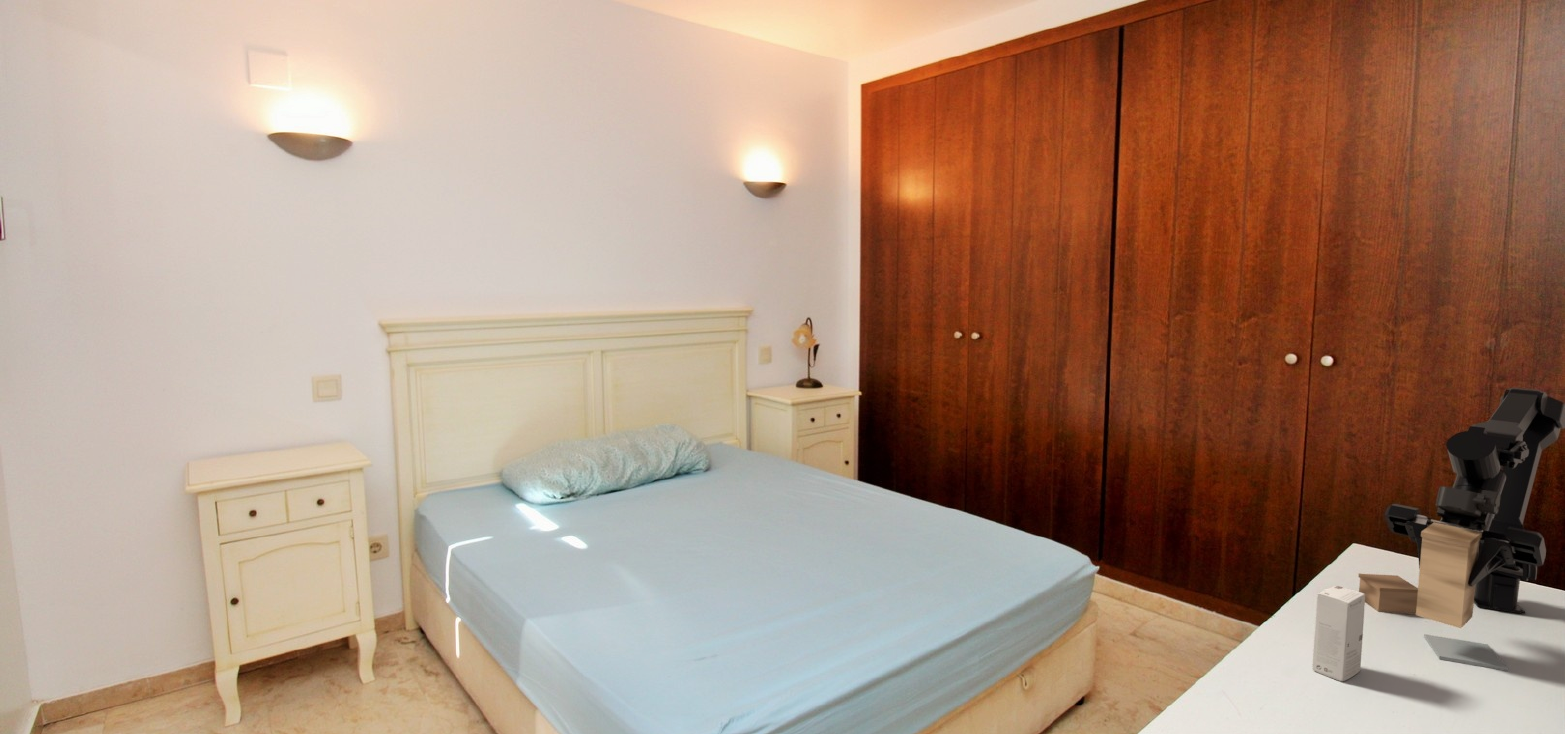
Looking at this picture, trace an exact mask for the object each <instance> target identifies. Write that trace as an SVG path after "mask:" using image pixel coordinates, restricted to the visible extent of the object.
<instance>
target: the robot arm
mask: <svg viewBox="0 0 1565 734" xmlns="http://www.w3.org/2000/svg"><path fill="white" fill-rule="evenodd" d="M1561 429H1565V402H1563V401H1561V400H1559V399H1556V398H1554V397H1551V396H1549V395H1548V394H1547V392H1546V391H1542V390H1541V389H1532V388H1522V387H1521V388H1520V387H1511V388H1506V389H1505V391H1504V394H1503V395H1502V396H1501V398H1500V401H1499V405H1498V407H1497V408H1496V409H1495V411H1494V412H1493V414H1492V415H1491V417H1490V418H1489V419H1488V420H1487V421H1485V422H1480V423H1479V422H1478V423H1475V424H1473V425H1469V427H1468V429H1467V430H1463V431H1459V432H1457V433H1455V434H1453V435H1452V436H1450V438H1448V439H1447V441H1446V449H1447V453H1448V457H1449V460H1450V463H1451V467H1452V471H1453V473H1454V474H1455V475H1456V477H1455V479H1454V483H1453V485H1452V487H1448V486H1443V485H1442V486H1441V485H1440V486H1439V488H1438V493H1437V497H1436V502H1435V507H1437V511H1436V513H1437V517H1441V518H1440V520H1436V519H1431V518H1430V517H1429V516H1427V515H1422V513H1421V510H1420V508H1418V507H1414V506H1408V505H1403V504H1398V503H1393V504H1391V505H1388V506H1387V508H1386V509H1385V512H1384V519H1385V521H1386V523H1387V526H1388V529H1389V532H1391V533H1392V534H1395V535H1399V536H1404V537H1407V538H1409V540H1410V541H1411V542H1412V543H1416V546H1417V556H1418V557H1417V558H1418V569H1419V571H1420V559H1421V547H1422V537H1421V532H1422V531H1423V530H1424V529H1426V528H1427V527H1428V526H1430V525H1431V524H1433V523H1439V524H1444V525H1449V526H1454V527H1458V528H1463V529H1468V530H1473V531H1477V532H1482V537H1481V538H1480V542H1479V552H1478V559H1477V562H1476V564H1475V566H1474V568H1473V570H1472V572H1471V574H1470V577H1469V581H1468V585H1469V586H1471V587H1473V586H1474V585H1475V595H1474V605H1475V606H1476V607H1479V608H1483V609H1488V610H1489V609H1490V610H1496V611H1503V612H1510V613H1517V614H1526V610H1525V609H1524V608H1523V607H1522V606H1521V605H1520V604H1519V603H1518V599H1519V598H1518V597H1519V589H1520V582H1521V580H1522V581H1524V582H1528V581H1536V580H1537V575H1538V567H1541V566H1544V562H1545V559H1546V556H1547V554H1546V553H1547V548H1546V543H1545V538H1544V537H1543V535H1542V534H1541V533H1540V532H1537V531H1534V530H1529V529H1525V527H1524V521H1525V516H1526V513H1527V508H1528V506H1529V500H1530V497H1531V493H1532V489H1533V486H1534V482H1535V478H1536V476H1537V475H1536V474H1537V470H1538V466H1539V463H1540V458H1541V455H1542V451H1544V450H1545V449H1546V448H1548V447H1549V446H1551V445H1552V444H1553V443H1555V442H1557V440H1558V439H1559V436H1560V432H1561Z"/></svg>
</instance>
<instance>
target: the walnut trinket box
mask: <svg viewBox="0 0 1565 734" xmlns="http://www.w3.org/2000/svg"><path fill="white" fill-rule="evenodd" d="M1357 575H1358V578H1359V586H1358V592H1361V593H1364V594H1365V604H1367V605H1368V606H1370V607H1371V608H1372V609H1374V610H1375V611H1377V612H1379V613H1391V614H1393V613H1395V614H1413V615H1414V614H1415V615H1416V607H1417V595H1418V586H1415V585H1413V584H1411V582H1409V581H1407V580H1406V579H1404V578H1402V577H1401V576H1399V575H1392V574H1391V575H1390V574H1375V573H1372V574H1371V573H1358V574H1357Z"/></svg>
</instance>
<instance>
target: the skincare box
mask: <svg viewBox="0 0 1565 734" xmlns="http://www.w3.org/2000/svg"><path fill="white" fill-rule="evenodd" d="M1365 604H1366V603H1365V594H1364V593H1361V592H1359V590H1358V591H1357V590H1353V589H1349V588H1346V587H1342V586H1340V585H1339V586H1338V585H1333V586H1330V587H1327V588H1325V589H1323V590H1322V591H1321V592H1318V593H1317V596H1316V609H1315V623H1314V624H1315V625H1314V637H1313V638H1314V639H1313V649H1312V651H1313V653H1312V664H1311V665H1312V666H1311V667H1312V671H1314V672H1315V673H1318V674H1321V675H1322V676H1325V677H1329V679H1334V680H1336V681H1338V682H1345V681H1347V680H1349V679H1351V678H1353V677H1354V676H1356V675H1357V674H1359V672H1360V671H1361V663H1362V652H1363V650H1362V649H1363V638H1364V637H1363V636H1364V634H1363V633H1364V621H1365V606H1366V605H1365Z"/></svg>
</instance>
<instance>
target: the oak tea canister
mask: <svg viewBox="0 0 1565 734" xmlns="http://www.w3.org/2000/svg"><path fill="white" fill-rule="evenodd" d="M1421 537H1422V547H1421V559H1420V570H1419V572H1418V583H1417V585H1418V586H1417V588H1418V595H1417V607H1416V614H1415V616H1418V617H1421V618H1424V619H1427V620H1430V621H1431V620H1432V621H1435V622H1438V623H1441V624H1444V625H1447V626H1450V627H1451V626H1452V627H1455V628H1458V629H1462V628H1463V627H1464V626H1465V625H1466V624H1467V623H1468V622H1469V621H1470V620H1471V619H1472V618H1473V617H1474V616H1473V613H1474V605H1475V603H1474V595H1475V585H1474V586H1473V587H1471V586H1469V585H1468V581H1469V577H1470V574H1471V572H1472V570H1473V568H1474V566H1475V564H1476V562H1477V559H1478V552H1479V542H1480V538H1481V537H1482V532H1477V531H1473V530H1468V529H1463V528H1458V527H1454V526H1449V525H1444V524H1439V523H1433V524H1431V525H1430V526H1428V527H1427V528H1426V529H1424V530H1423V531H1422V532H1421Z"/></svg>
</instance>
